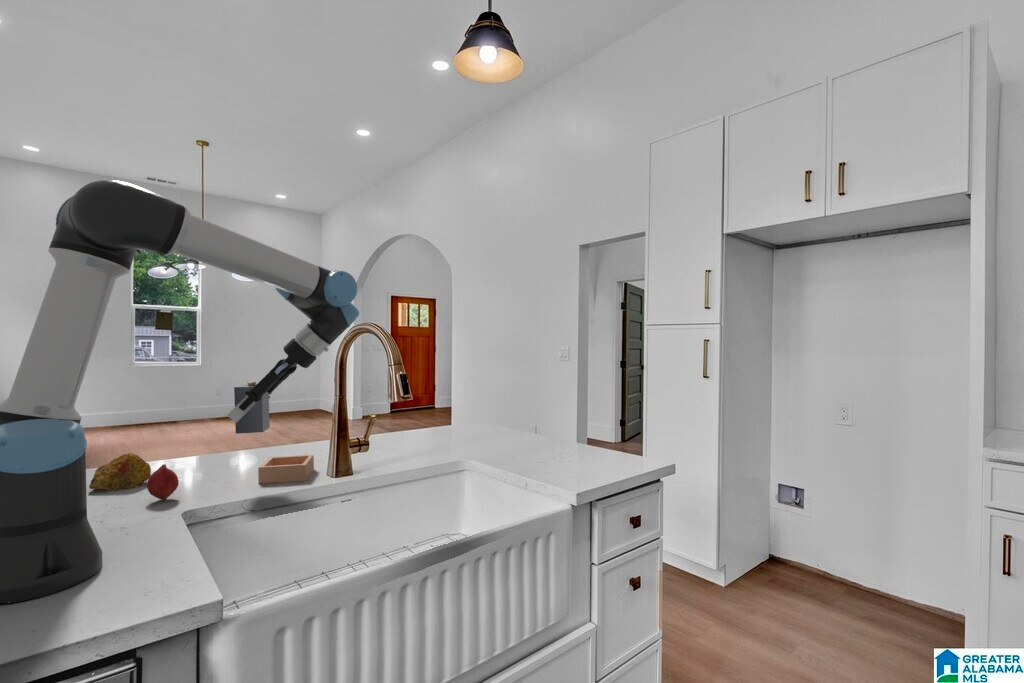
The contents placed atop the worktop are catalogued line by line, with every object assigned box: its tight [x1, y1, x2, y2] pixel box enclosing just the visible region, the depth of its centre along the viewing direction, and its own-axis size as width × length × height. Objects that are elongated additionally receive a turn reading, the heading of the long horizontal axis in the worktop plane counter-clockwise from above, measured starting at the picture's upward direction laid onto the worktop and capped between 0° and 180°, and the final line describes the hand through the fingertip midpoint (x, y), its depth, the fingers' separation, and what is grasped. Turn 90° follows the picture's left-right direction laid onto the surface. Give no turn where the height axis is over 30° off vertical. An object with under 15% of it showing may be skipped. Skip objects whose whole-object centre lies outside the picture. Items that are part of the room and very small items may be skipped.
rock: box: [88, 452, 152, 492], centre depth 126 cm, size 11×8×10 cm
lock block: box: [233, 381, 271, 435], centre depth 125 cm, size 6×6×12 cm
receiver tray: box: [257, 454, 315, 484], centre depth 133 cm, size 11×11×4 cm
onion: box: [146, 463, 180, 501], centre depth 115 cm, size 6×6×8 cm
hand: (236, 416), depth 125 cm, fingers closed on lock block, 6 cm apart
